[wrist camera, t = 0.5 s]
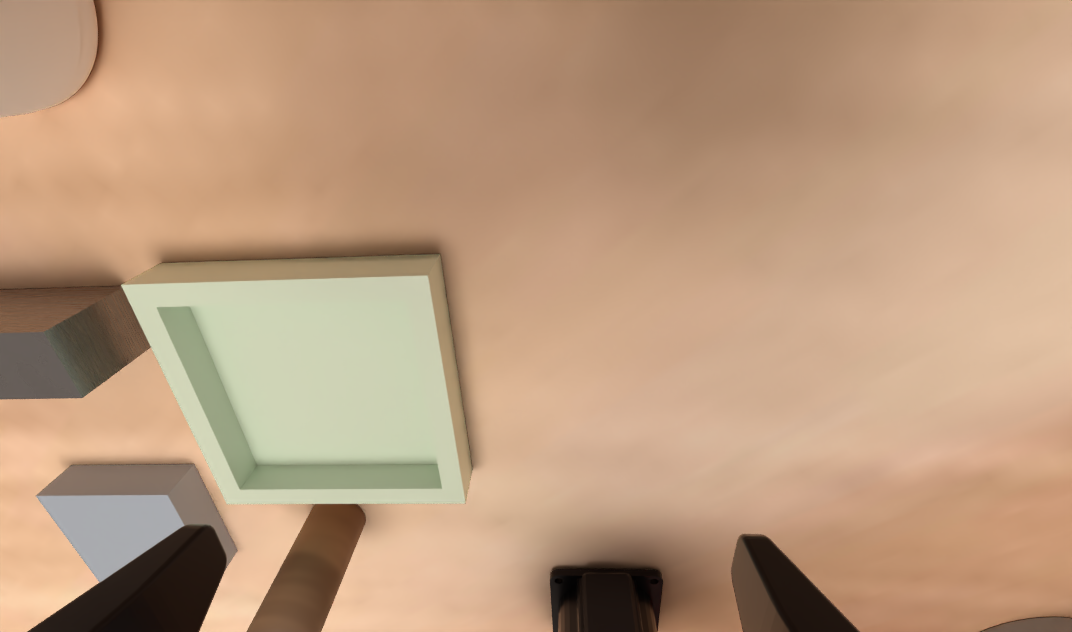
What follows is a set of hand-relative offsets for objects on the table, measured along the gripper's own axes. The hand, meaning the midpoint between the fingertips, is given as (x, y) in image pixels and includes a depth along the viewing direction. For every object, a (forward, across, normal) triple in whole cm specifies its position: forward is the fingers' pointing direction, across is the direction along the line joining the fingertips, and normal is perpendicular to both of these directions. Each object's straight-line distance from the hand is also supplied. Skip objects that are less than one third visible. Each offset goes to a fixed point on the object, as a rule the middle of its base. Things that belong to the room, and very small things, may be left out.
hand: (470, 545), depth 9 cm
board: (+14, +22, +15) cm, 30 cm away
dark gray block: (+14, +22, +2) cm, 26 cm away
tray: (+14, +9, +6) cm, 17 cm away
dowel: (+14, +11, +15) cm, 23 cm away
